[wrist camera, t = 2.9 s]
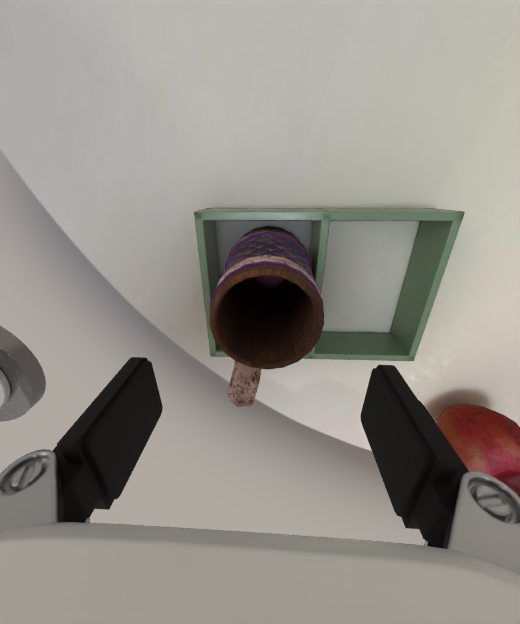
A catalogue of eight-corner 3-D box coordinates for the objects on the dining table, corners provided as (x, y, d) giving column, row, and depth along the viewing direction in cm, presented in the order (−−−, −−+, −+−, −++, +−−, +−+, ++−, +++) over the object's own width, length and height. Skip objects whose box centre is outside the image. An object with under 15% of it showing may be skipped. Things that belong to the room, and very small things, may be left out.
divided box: (218, 334, 27) (210, 356, 23) (206, 208, 21) (193, 211, 17) (394, 337, 26) (413, 361, 22) (431, 208, 20) (465, 211, 17)
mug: (243, 212, 21) (214, 236, 10) (319, 240, 22) (366, 288, 11) (215, 312, 25) (174, 401, 15) (278, 332, 26) (284, 431, 15)
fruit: (405, 426, 32) (458, 519, 23) (441, 381, 28) (520, 469, 19) (461, 439, 32) (534, 533, 23) (503, 395, 29) (608, 488, 20)
